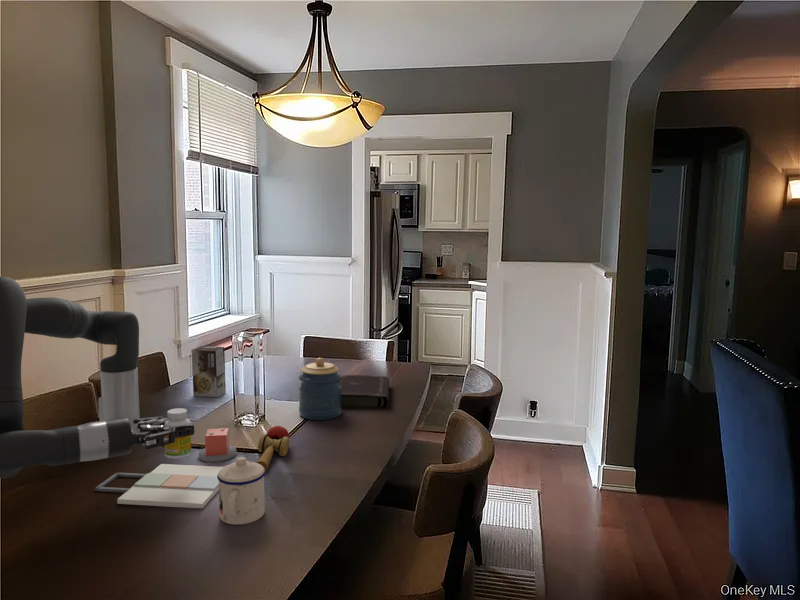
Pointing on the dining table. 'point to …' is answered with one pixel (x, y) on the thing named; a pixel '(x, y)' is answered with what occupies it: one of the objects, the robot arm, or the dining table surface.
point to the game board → (169, 486)
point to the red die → (217, 446)
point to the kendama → (273, 444)
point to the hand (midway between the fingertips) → (189, 425)
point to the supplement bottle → (181, 443)
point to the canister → (320, 391)
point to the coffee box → (208, 371)
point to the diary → (364, 391)
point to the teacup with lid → (241, 492)
